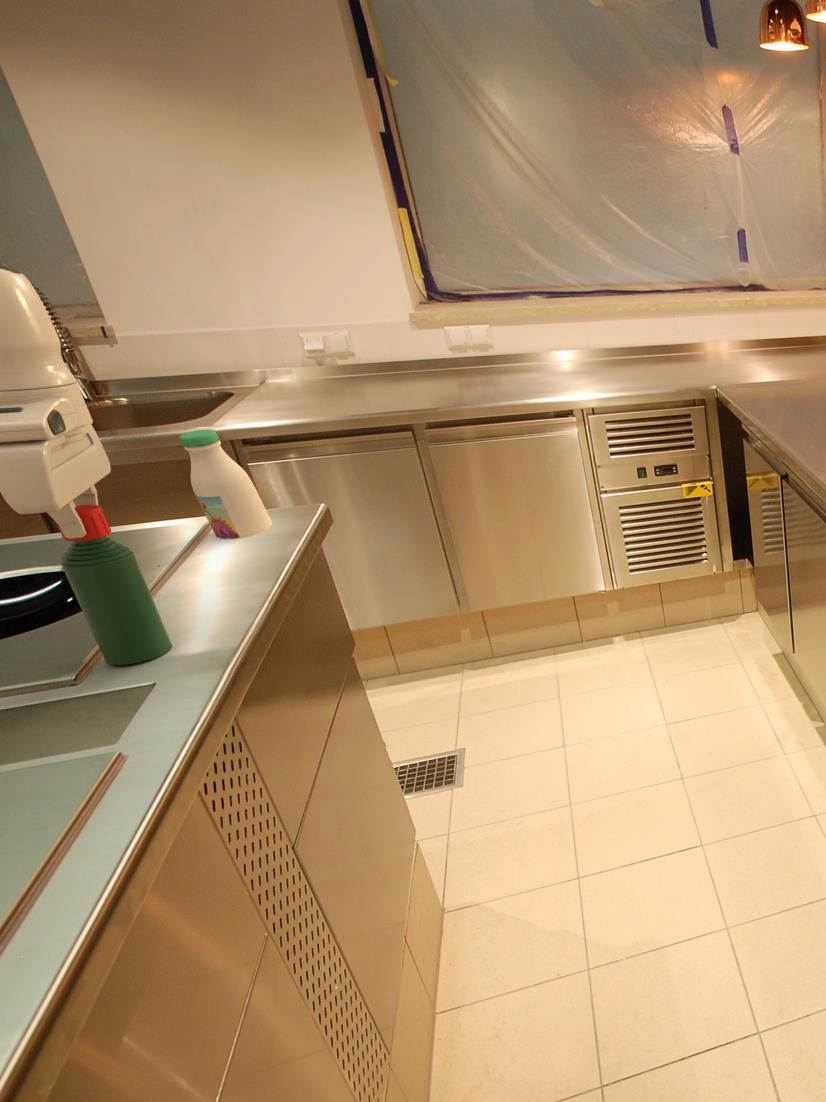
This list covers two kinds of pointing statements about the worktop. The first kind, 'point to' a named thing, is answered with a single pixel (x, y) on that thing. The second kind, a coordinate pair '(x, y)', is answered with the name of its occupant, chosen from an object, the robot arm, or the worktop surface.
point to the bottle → (115, 601)
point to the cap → (91, 523)
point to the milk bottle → (223, 488)
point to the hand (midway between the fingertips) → (85, 530)
